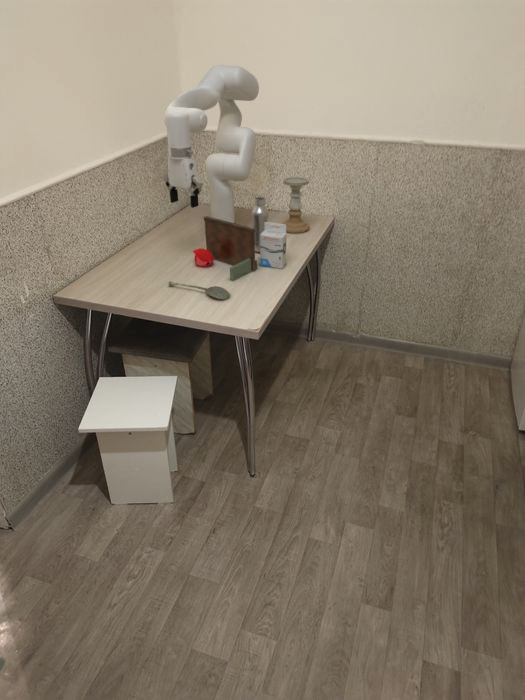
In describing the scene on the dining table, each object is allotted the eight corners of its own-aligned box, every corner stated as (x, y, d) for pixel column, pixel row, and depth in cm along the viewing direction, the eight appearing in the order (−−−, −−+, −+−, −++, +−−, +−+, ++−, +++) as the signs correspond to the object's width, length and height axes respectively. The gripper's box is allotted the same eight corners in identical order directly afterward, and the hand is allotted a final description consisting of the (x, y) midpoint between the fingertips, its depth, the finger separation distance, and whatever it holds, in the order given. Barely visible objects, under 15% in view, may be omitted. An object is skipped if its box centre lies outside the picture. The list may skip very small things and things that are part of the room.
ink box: (259, 266, 183) (259, 225, 175) (263, 260, 187) (263, 221, 179) (282, 269, 181) (282, 228, 173) (286, 263, 185) (287, 224, 177)
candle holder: (314, 227, 218) (316, 178, 208) (300, 235, 210) (302, 185, 199) (289, 222, 224) (290, 175, 213) (274, 230, 215) (275, 181, 204)
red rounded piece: (217, 262, 185) (216, 247, 182) (210, 269, 181) (209, 253, 177) (196, 260, 188) (195, 244, 184) (190, 266, 183) (188, 250, 180)
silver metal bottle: (271, 249, 197) (271, 197, 186) (264, 255, 192) (264, 202, 181) (256, 246, 199) (255, 195, 188) (248, 252, 194) (247, 199, 183)
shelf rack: (186, 265, 184) (183, 224, 176) (211, 254, 192) (209, 214, 184) (235, 281, 172) (233, 238, 164) (258, 269, 181) (258, 227, 173)
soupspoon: (222, 304, 159) (232, 297, 164) (223, 294, 157) (233, 287, 162) (164, 289, 167) (175, 282, 172) (163, 279, 165) (175, 273, 170)
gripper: (207, 153, 166) (210, 206, 175) (170, 147, 175) (174, 197, 184) (191, 157, 161) (195, 211, 170) (153, 151, 170) (159, 202, 179)
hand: (184, 204), depth 177 cm, fingers open, 9 cm apart
